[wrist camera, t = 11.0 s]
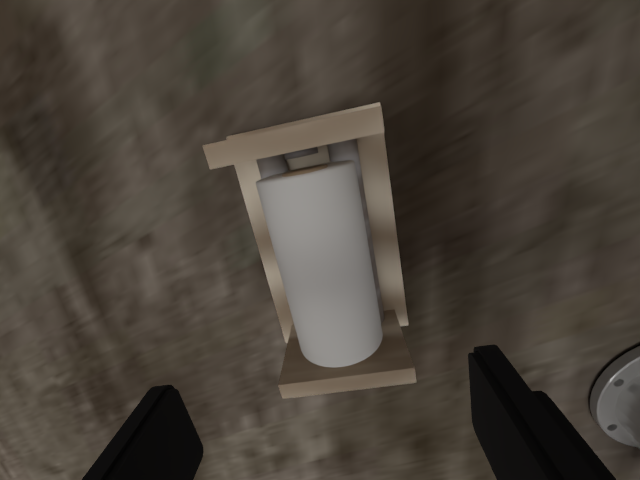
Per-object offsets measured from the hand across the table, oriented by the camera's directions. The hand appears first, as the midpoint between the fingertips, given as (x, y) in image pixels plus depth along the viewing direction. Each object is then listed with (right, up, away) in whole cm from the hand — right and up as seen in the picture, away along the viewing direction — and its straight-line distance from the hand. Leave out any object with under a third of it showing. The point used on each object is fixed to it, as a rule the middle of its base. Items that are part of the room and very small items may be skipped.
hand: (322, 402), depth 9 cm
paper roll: (+1, +5, +13) cm, 14 cm away
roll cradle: (0, +6, +15) cm, 16 cm away
